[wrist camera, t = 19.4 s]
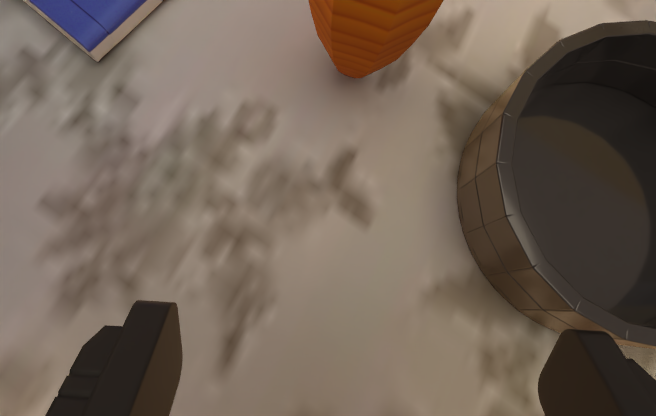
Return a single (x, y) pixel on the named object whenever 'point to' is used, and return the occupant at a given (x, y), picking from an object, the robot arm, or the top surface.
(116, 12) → the hard drive
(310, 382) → the top surface
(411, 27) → the carrot
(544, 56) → the pan
